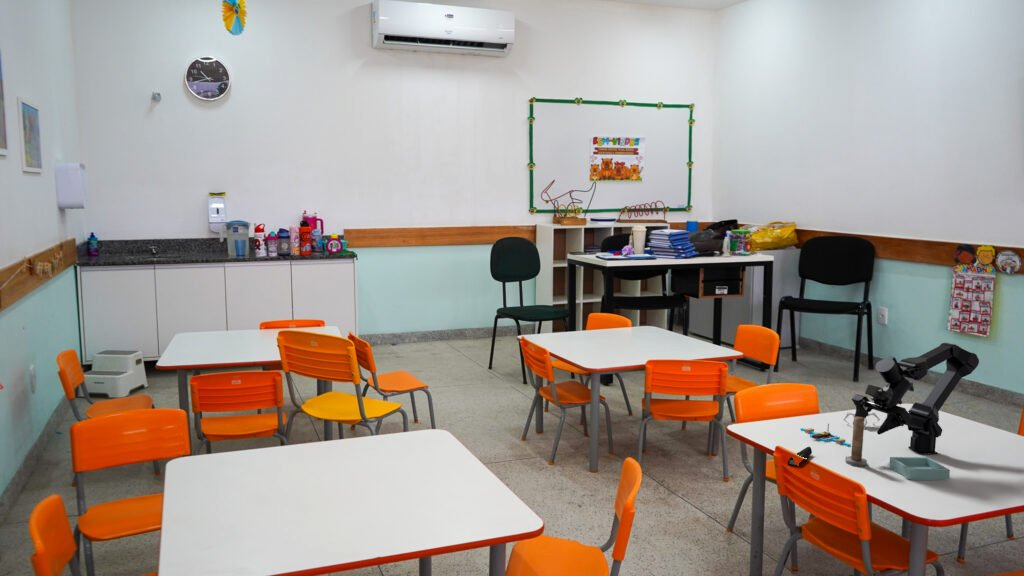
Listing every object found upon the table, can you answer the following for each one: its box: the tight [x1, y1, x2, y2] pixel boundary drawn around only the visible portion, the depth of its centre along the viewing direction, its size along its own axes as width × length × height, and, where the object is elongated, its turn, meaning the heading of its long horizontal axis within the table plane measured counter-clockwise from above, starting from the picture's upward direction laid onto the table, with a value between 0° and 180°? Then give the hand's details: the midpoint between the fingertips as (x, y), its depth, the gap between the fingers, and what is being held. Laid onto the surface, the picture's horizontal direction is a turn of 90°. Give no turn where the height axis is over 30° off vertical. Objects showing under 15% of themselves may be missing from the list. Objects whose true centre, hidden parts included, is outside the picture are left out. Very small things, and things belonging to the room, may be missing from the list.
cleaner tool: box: [845, 417, 868, 468], centre depth 234 cm, size 6×6×15 cm
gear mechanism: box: [800, 422, 852, 447], centre depth 259 cm, size 20×5×9 cm
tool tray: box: [889, 456, 951, 481], centre depth 227 cm, size 12×11×3 cm
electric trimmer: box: [787, 446, 813, 468], centre depth 237 cm, size 4×15×3 cm, turn 140°
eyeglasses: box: [842, 410, 881, 430], centre depth 274 cm, size 12×8×5 cm
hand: (865, 429), depth 235 cm, fingers open, 9 cm apart
